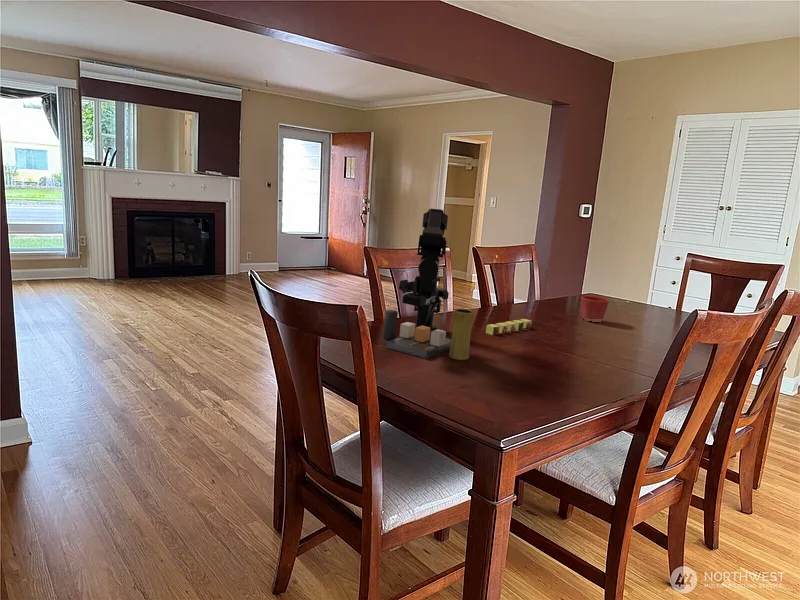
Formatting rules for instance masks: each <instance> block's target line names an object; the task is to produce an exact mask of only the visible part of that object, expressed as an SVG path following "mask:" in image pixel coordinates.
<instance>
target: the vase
mask: <svg viewBox="0 0 800 600" xmlns="http://www.w3.org/2000/svg"><path fill="white" fill-rule="evenodd" d="M473 315H474V312H473V310H471V309H466V308H456V309H455V310H454V315H453V316H454V317H453V324H452V325H453V326H452V332H451V338H450V339H451V344H450V348H449V349H448V350H449V352H448V357H449V358H450V359H453V360H455V361H467V360H469V358H470V345H471V344H470V343H471V333H472V323H473Z"/></svg>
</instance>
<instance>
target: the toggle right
mask: <svg viewBox="0 0 800 600" xmlns="http://www.w3.org/2000/svg"><path fill="white" fill-rule="evenodd" d="M430 334H431V339H430V344H431V345H435V346H438V347H439V346H441V345H443V344H445V338H447V337H446V336H447V331H445V330H442V329H437V328H436V329H433V330H430Z"/></svg>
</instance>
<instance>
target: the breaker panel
mask: <svg viewBox="0 0 800 600" xmlns="http://www.w3.org/2000/svg"><path fill="white" fill-rule="evenodd" d="M430 339H431V333H430V338H429V340H428V341H425V342H419V341H416V340H415V333H414V336H413V337H410V338H404V337H400V336H398V337H396V338H395V339H392V340H387V341H386V349H390V350H394V351H397V352H401V353H403V354H404V353H405V354H408V355H411V356H414V357H415V356H416V357H418V358H422V359H425V360H426V359H430V358H431V357H433V356H436V355H438V354H440V353H442V352H445V351H447V350H450V344H451V338H447V337H446V338H445V344H443V345H441V346H439V347H438V346H435V345H431V344H430Z"/></svg>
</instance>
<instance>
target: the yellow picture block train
mask: <svg viewBox="0 0 800 600" xmlns="http://www.w3.org/2000/svg"><path fill="white" fill-rule="evenodd" d="M530 327H531V328H532V320H531V319H526V318H521V319H519V320H518V319H516V320H515V319H514V320H511V321H509V320H508V321H504V322H498V323H497V322H496V323H495V324H493V323H491V324H487V325H486V328H485V334H488V335H491V336H495V335H499V334H501V333H502V334H507V333H512V332H511V331H513V332H516V331H522V330H521V329H523V328H529V329H531V328H530ZM515 329H516V330H515ZM523 330H524V329H523ZM508 331H509V332H508ZM506 332H507V333H506Z"/></svg>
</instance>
